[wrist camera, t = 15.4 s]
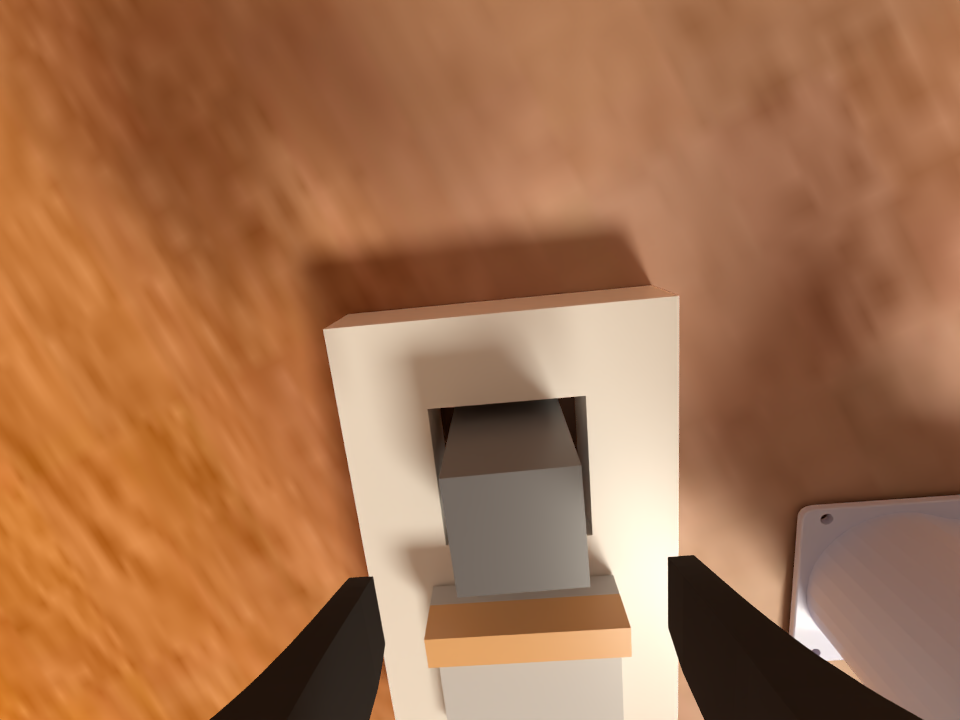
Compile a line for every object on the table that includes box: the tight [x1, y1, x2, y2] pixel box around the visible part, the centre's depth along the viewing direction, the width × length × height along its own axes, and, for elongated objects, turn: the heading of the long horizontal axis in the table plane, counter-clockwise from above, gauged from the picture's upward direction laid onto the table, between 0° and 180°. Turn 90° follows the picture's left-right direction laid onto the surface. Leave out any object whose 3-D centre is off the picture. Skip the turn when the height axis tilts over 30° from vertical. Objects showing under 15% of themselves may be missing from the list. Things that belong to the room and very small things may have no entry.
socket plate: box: [323, 285, 679, 720], centre depth 21 cm, size 12×20×3 cm, turn 6°
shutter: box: [424, 575, 632, 720], centre depth 19 cm, size 7×7×3 cm
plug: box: [439, 398, 590, 598], centre depth 18 cm, size 4×4×7 cm
